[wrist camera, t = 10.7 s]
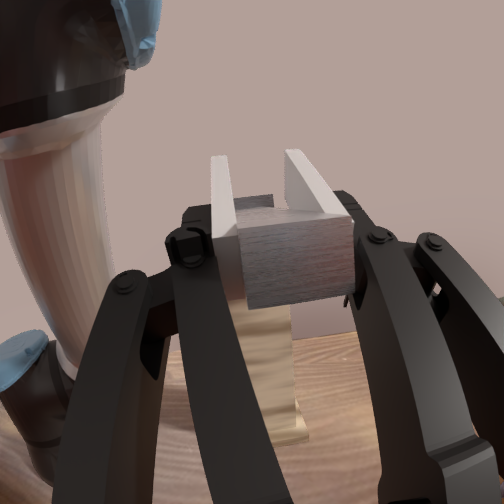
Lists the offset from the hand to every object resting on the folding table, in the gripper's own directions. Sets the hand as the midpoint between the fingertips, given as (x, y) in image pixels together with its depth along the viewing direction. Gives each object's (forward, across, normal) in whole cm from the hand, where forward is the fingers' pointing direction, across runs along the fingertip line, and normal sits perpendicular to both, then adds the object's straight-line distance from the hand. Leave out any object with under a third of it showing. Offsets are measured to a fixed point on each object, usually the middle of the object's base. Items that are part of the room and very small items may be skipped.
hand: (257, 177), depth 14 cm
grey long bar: (+2, 0, -5) cm, 6 cm away
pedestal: (+2, 0, -45) cm, 45 cm away
